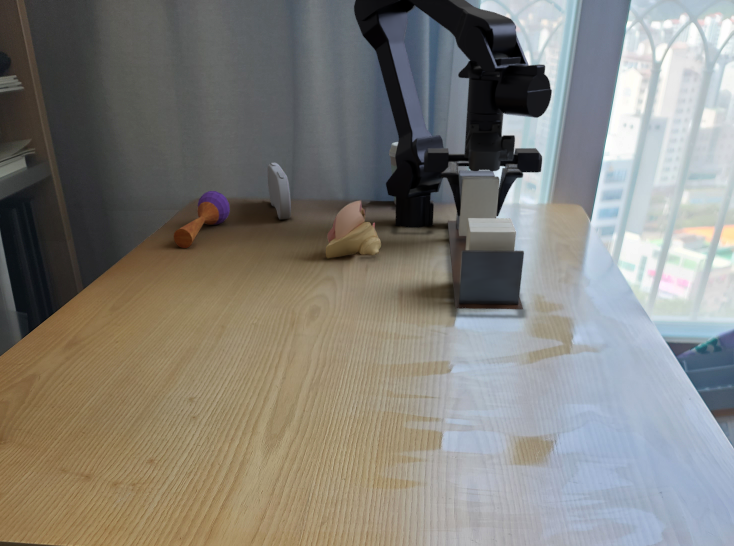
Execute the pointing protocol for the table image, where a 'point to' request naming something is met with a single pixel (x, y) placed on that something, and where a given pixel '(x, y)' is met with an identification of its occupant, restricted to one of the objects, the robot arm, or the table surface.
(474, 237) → the cream books
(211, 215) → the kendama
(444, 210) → the table surface
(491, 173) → the grey books
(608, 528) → the table surface
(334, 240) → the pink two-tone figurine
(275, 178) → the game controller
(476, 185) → the ivory book
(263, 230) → the table surface
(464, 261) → the book rack
